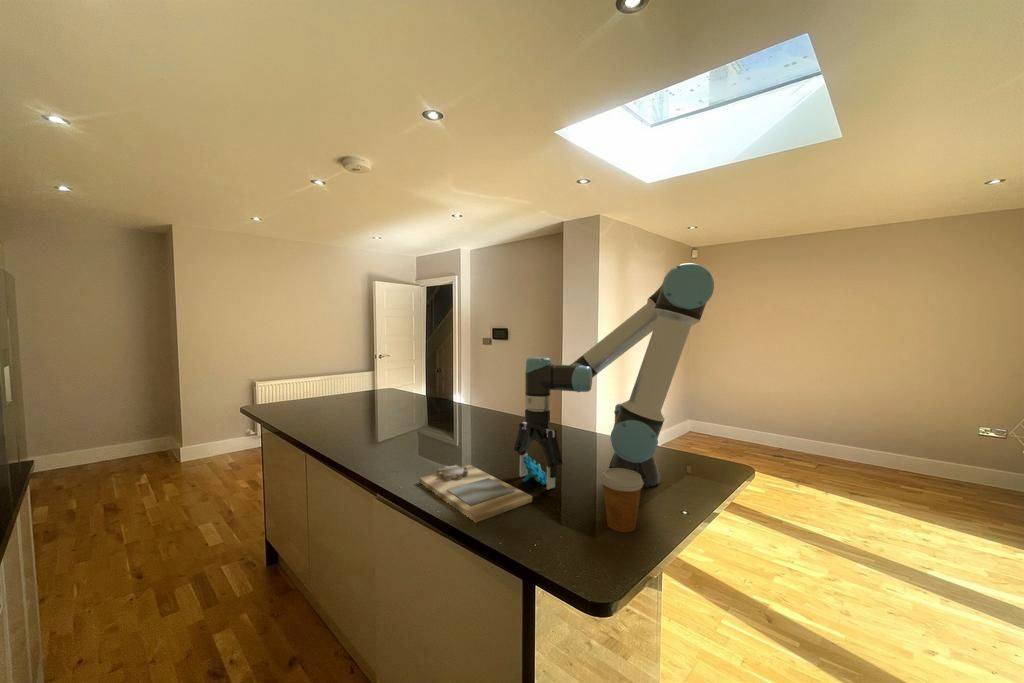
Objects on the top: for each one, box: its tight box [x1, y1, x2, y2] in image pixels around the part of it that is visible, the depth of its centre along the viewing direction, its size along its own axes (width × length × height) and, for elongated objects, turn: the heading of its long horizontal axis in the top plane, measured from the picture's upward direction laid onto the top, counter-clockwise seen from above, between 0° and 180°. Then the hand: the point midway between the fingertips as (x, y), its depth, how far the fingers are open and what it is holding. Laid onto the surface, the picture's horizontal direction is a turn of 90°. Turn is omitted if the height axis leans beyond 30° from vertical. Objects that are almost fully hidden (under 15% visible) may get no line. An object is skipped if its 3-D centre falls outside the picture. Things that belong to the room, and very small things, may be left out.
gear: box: [522, 455, 547, 486], centre depth 114 cm, size 11×6×10 cm
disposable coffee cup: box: [600, 468, 644, 533], centre depth 88 cm, size 10×10×12 cm
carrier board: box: [418, 464, 533, 523], centre depth 106 cm, size 31×18×3 cm, turn 39°
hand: (536, 481), depth 114 cm, fingers open, 11 cm apart
